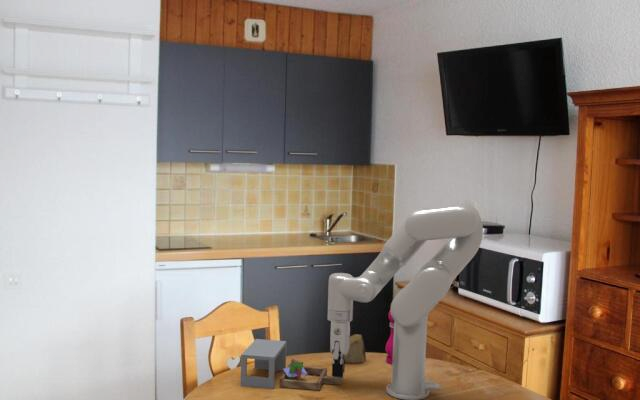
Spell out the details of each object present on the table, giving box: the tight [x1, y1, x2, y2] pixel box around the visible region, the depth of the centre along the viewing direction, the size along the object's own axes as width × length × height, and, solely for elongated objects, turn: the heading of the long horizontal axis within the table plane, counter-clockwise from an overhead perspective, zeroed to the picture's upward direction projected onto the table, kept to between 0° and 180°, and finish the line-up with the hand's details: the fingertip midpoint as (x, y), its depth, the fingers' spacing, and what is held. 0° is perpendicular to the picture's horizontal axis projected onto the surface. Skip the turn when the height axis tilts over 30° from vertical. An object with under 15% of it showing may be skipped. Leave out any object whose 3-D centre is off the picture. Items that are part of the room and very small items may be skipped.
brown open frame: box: [279, 359, 344, 391], centre depth 206 cm, size 18×14×7 cm
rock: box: [343, 333, 367, 364], centre depth 227 cm, size 11×9×10 cm
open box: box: [240, 338, 287, 390], centre depth 208 cm, size 10×17×10 cm, turn 171°
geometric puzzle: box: [282, 358, 309, 381], centre depth 206 cm, size 7×7×8 cm
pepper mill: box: [384, 310, 395, 365], centre depth 227 cm, size 7×7×20 cm
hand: (338, 373), depth 205 cm, fingers closed on brown open frame, 3 cm apart
